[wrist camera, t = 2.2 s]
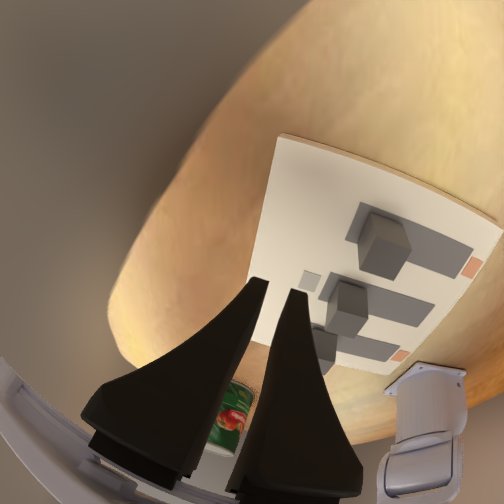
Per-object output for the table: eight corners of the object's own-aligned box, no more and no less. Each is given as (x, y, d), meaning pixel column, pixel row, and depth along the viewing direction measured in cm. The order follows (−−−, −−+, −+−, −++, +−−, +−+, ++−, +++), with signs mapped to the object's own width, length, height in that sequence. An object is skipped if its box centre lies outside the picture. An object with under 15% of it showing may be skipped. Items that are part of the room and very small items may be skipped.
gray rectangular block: (366, 289, 19) (368, 318, 17) (354, 310, 21) (353, 338, 18) (338, 280, 20) (337, 310, 17) (327, 302, 21) (324, 330, 19)
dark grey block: (402, 224, 16) (412, 250, 13) (387, 253, 17) (393, 281, 15) (370, 212, 16) (375, 236, 14) (357, 242, 17) (359, 269, 15)
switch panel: (496, 220, 14) (504, 231, 13) (388, 364, 27) (388, 376, 25) (282, 132, 16) (277, 137, 15) (239, 324, 29) (234, 335, 27)
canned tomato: (264, 396, 38) (244, 458, 29) (235, 402, 43) (215, 455, 34) (225, 372, 36) (198, 438, 28) (199, 381, 41) (173, 436, 32)
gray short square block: (337, 335, 23) (335, 362, 21) (327, 349, 24) (324, 375, 22) (313, 328, 23) (308, 355, 21) (305, 342, 25) (299, 368, 22)
